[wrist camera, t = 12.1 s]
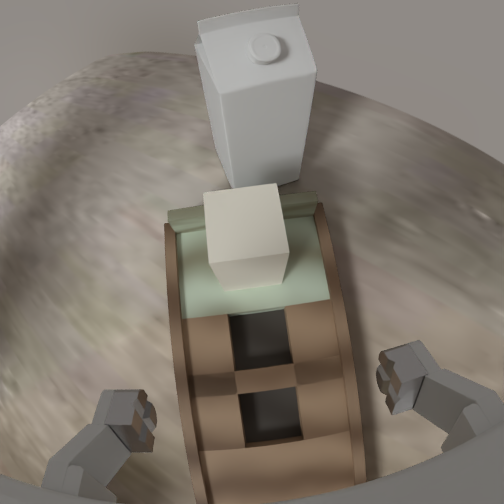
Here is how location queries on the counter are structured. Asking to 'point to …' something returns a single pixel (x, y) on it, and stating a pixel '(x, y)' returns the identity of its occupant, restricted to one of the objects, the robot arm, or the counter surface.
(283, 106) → the milk carton
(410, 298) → the counter surface
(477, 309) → the counter surface
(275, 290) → the box
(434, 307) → the counter surface
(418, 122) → the counter surface
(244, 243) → the cream block
